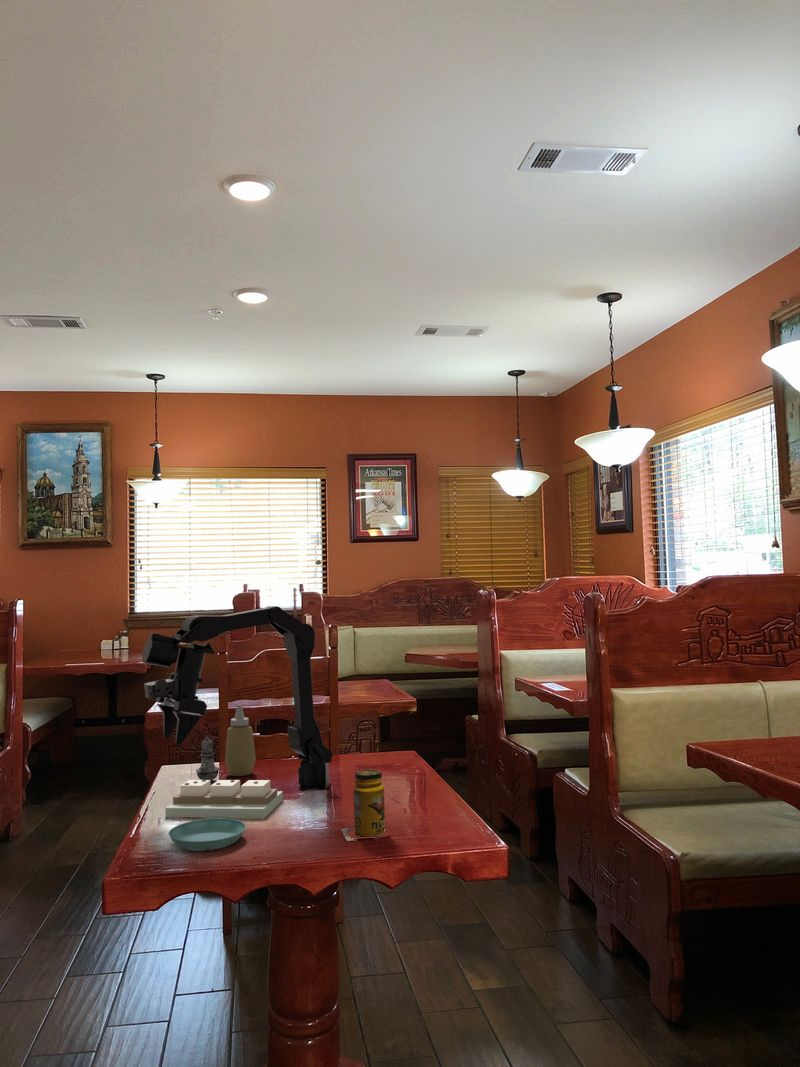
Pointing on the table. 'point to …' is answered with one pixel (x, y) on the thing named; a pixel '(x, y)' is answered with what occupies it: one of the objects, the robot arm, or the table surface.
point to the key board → (224, 806)
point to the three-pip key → (195, 788)
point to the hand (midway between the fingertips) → (171, 741)
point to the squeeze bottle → (240, 746)
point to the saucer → (207, 834)
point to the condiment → (368, 805)
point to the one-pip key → (255, 788)
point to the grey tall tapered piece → (207, 762)
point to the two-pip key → (225, 788)
